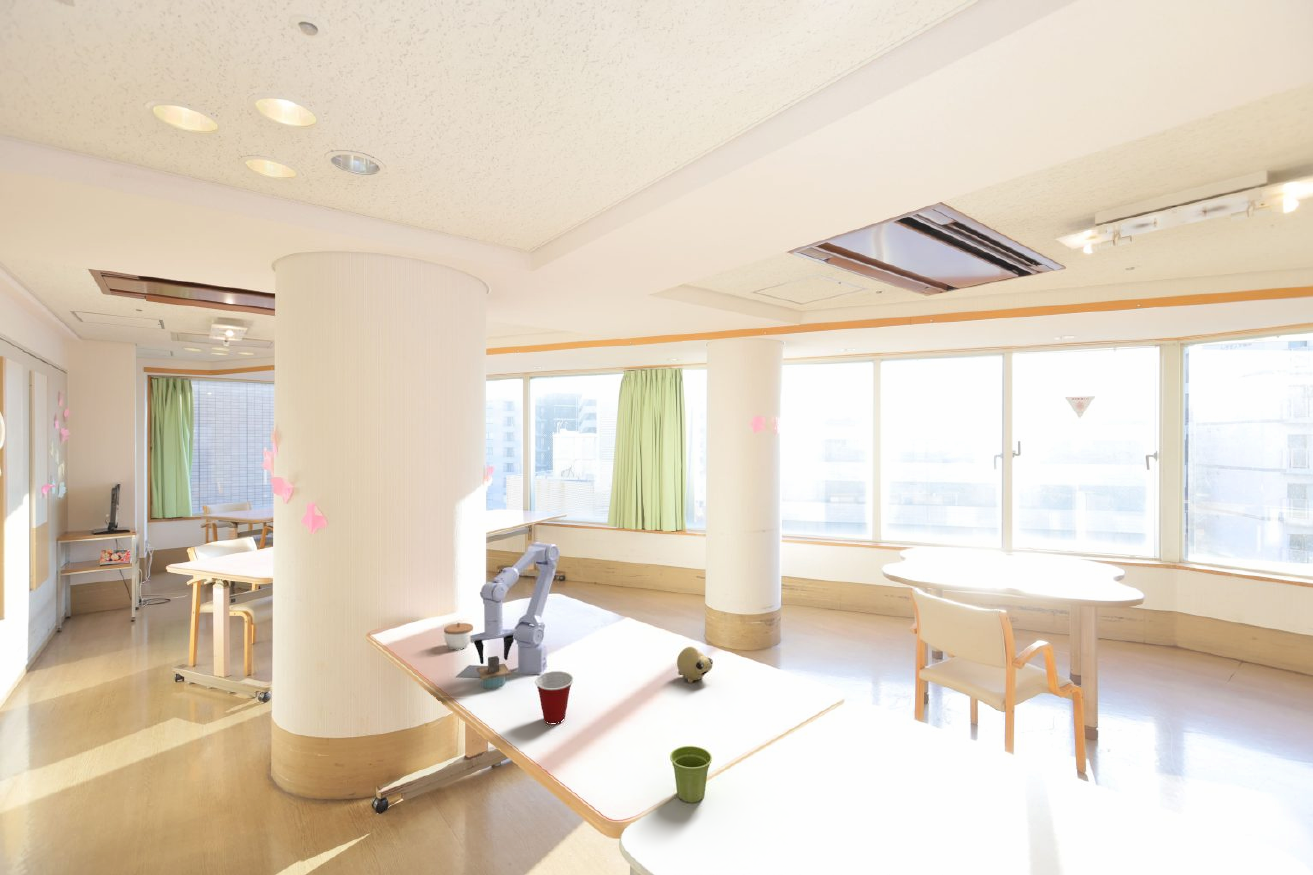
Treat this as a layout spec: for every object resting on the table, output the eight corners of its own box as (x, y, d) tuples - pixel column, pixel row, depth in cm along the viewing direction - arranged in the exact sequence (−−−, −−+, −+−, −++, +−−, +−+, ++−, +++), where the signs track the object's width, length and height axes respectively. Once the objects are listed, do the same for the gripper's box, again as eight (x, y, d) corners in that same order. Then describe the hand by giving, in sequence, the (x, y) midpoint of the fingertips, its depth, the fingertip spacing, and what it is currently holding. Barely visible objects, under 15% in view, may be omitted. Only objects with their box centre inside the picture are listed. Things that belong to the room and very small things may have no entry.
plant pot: (709, 782, 140) (709, 745, 140) (714, 807, 130) (714, 767, 130) (669, 783, 139) (668, 746, 139) (671, 808, 130) (671, 768, 130)
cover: (504, 665, 203) (504, 651, 203) (510, 674, 195) (510, 660, 195) (477, 669, 199) (476, 655, 199) (482, 679, 191) (482, 664, 191)
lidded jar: (477, 642, 238) (477, 619, 238) (466, 652, 228) (466, 627, 228) (451, 642, 239) (451, 618, 240) (439, 651, 229) (439, 626, 229)
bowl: (508, 681, 200) (508, 668, 200) (500, 690, 193) (500, 676, 193) (487, 680, 200) (487, 667, 200) (479, 689, 193) (479, 676, 193)
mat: (498, 667, 212) (498, 666, 212) (486, 679, 202) (486, 678, 202) (469, 665, 214) (469, 665, 214) (454, 677, 203) (454, 677, 203)
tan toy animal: (697, 689, 192) (697, 656, 192) (671, 679, 201) (671, 647, 201) (718, 681, 199) (717, 648, 199) (691, 671, 207) (691, 640, 207)
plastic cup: (536, 731, 165) (536, 687, 165) (533, 714, 175) (533, 673, 175) (576, 726, 168) (576, 683, 168) (571, 709, 178) (571, 669, 178)
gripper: (512, 613, 203) (513, 653, 203) (468, 619, 197) (468, 660, 197) (517, 618, 197) (518, 660, 197) (472, 625, 191) (472, 668, 191)
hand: (493, 660), depth 197 cm, fingers open, 7 cm apart
